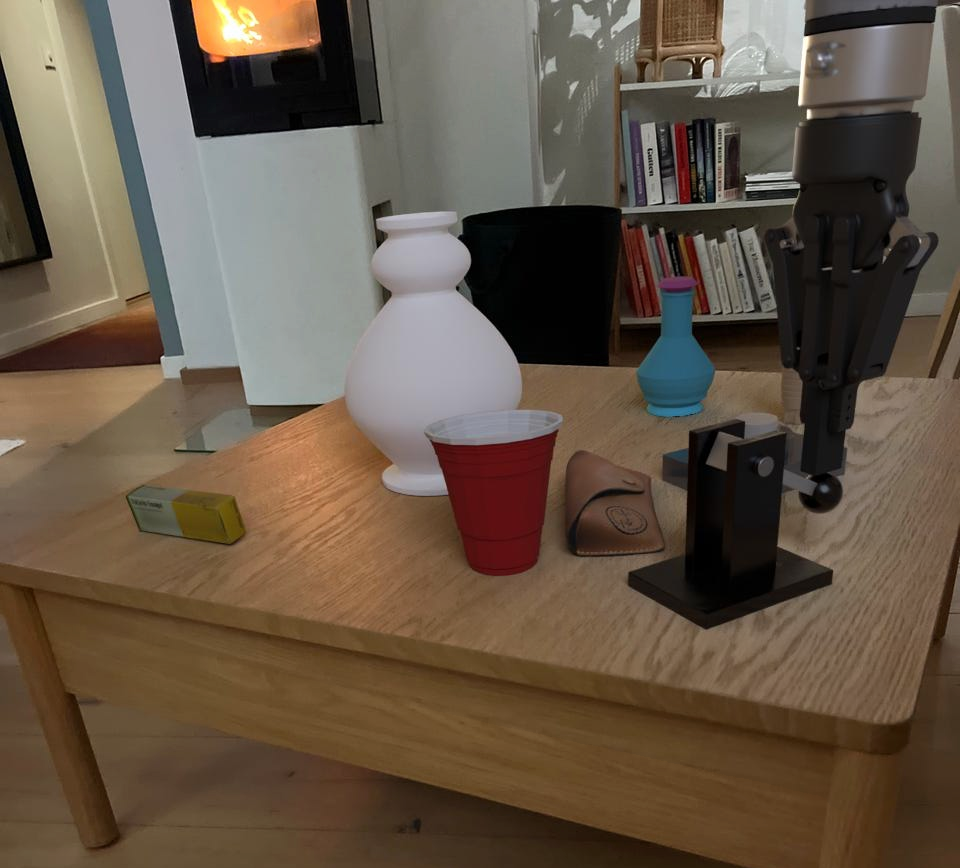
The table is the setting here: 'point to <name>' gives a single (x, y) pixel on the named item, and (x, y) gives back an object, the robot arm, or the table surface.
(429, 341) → the decorative vase
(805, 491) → the lever with black ball
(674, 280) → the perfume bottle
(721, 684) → the table surface
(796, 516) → the table surface
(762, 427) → the flush button
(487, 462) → the plastic cup
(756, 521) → the lever bracket
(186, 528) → the medication box
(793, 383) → the handle
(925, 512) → the table surface
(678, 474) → the block
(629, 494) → the sunglasses case
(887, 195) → the robot arm
